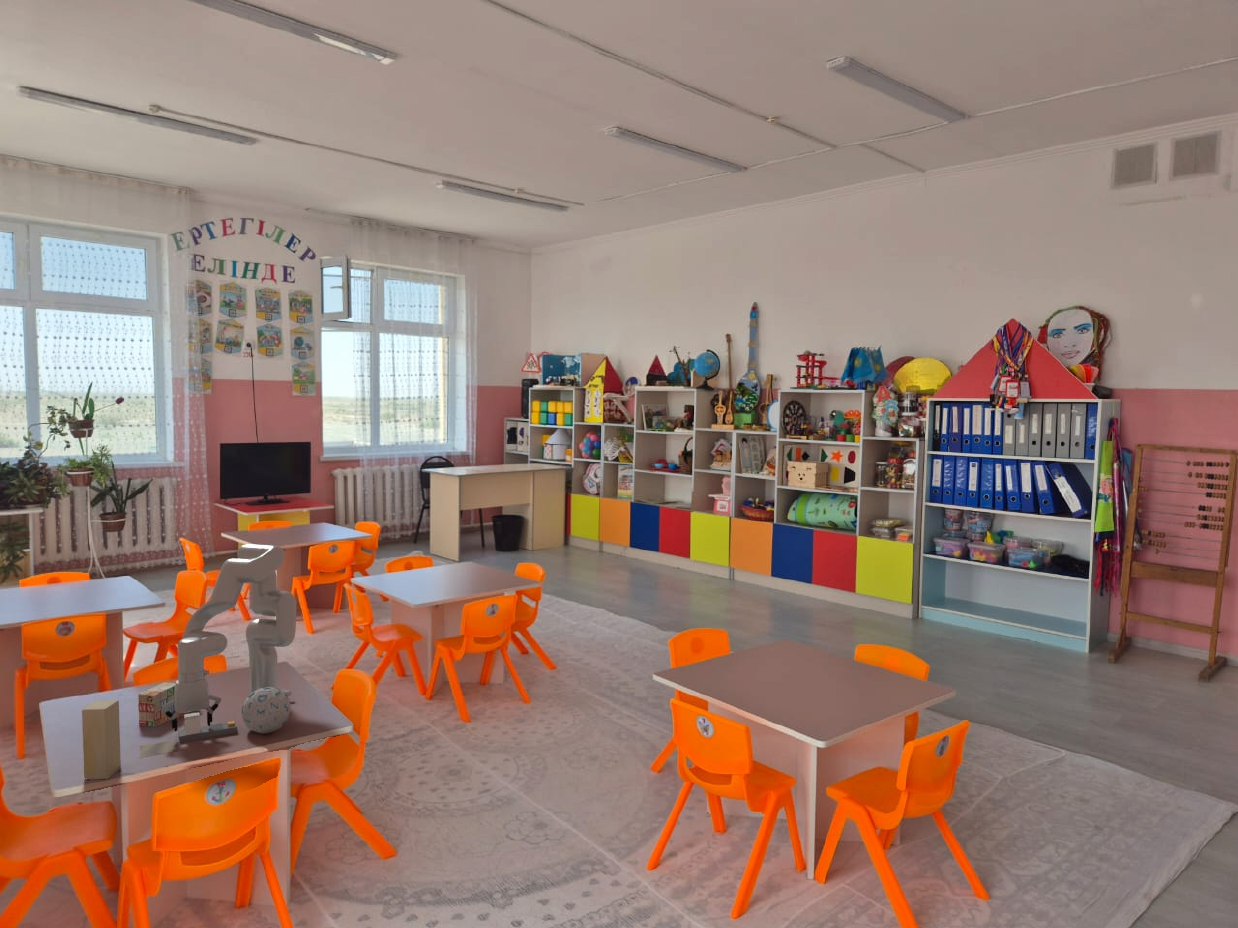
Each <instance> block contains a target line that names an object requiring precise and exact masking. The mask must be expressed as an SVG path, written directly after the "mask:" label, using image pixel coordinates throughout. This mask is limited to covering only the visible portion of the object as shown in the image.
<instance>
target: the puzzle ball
mask: <svg viewBox="0 0 1238 928" xmlns="http://www.w3.org/2000/svg"><path fill="white" fill-rule="evenodd" d="M290 713H291V701H290V699H289V696H287V695H286V694H285V693H283V692H282V691H281V689H279V688H278V689H277V688H272V687H265V688H261V689H258V690H256V691H255V692H253V693H252V694H251V695H250V694H249V696H248V697H246V699H245V700H244V702H243V705H242V707H241V717H242V721H243V723H244V724H245V726H246V728H248V729H249V730H250V731H252V732H255V733H259V734H262V735H266V734H270V733H275V732H276V731H278V730H279V729H281V728H282V727H283V726H284V725H285V724H286V722H287V721H288V719H289V717H290Z"/></svg>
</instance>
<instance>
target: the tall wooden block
mask: <svg viewBox="0 0 1238 928" xmlns="http://www.w3.org/2000/svg"><path fill="white" fill-rule="evenodd" d="M81 720H82V721H81V723H82V749H83V776H84V777H83V779H84V778H85V779H84V780H87V779H90V780H108V779H109V778H111V777H112V776H113V775H114V774H115V773H117V772H118V771H119V770H120V769H121V767H122V763H121V761H122V759H121V733H120V731H121V730H120V728H121V727H120V702H119V700H118V699H115V700H112V699H111V700H109V699H108V700H95V701H94V702H91V704H89V705H87V706H86V707H85V708H83V709H82V710H81ZM111 775H112V776H111ZM86 778H87V779H86Z"/></svg>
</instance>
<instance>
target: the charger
mask: <svg viewBox="0 0 1238 928" xmlns="http://www.w3.org/2000/svg"><path fill="white" fill-rule="evenodd" d="M183 720H184V721H183V723H184V725H183V726H184V727H183V729H184V730H185V735H191V734H197V733H201V727H202V726H201V716H200V712H199V711H198V712H191V713H187V714H185V715H183Z"/></svg>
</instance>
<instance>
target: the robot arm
mask: <svg viewBox="0 0 1238 928" xmlns="http://www.w3.org/2000/svg"><path fill="white" fill-rule="evenodd" d="M236 553H237V557H236V558H235V557H234V558H228V559H226V560H225V561H224V562H223V563H222V566H221V568H220V571H219V574H218V575H217V579H216V581H215V583H214V584H215V585H214V587H213V590H212V592H211V595H210V597H209V599H208V600H207V601H206V602H205V603H203V604H202V605H201V606H200V607H199V608H198V609H197V610H196V611H195V612H194V613H193V614H192V615H191V616H190V618H189V620H188V622H187V624H186V627H185V630H184V632H183V635H182V639H180V640H179V641H178V643H177V668H178V669H177V675H178V677H177V678H178V679H177V680H176V681H175V682H174V683H175V691H174V699H173V700H172V701H170V702H168V703H167V704H165V705H163V706H162V710H163V711H164V713H165V714H166V715H167V716H168V717H170V718H171V719H172V720H171V728H172V729H174V732H178V719H177V716H178V714H179V713H183V712H189V713H191V712H197V711H202V710H205V711H206V723H207V726H210V725H211V723H213V713H214V711H216V710H217V708H218V707H219V705H220V703H221V702H222V698H221V697H220V696H218V695H215V694H214V695H213V694H210V691H209V690H210V689H209V682H208V679H207V675H210V670H209V669H207V670H206V669H205V658H208V657H214V656H218V655H220V654H222V653H223V652H224V651H225V650H226V648H227V646H228V639H227V637H226V636H225V635H224V634H223V633H220V632H214V631H205V630H204V628H205V626H207V623H208V622H209V621H210V620H212V619H213V618H214V617H215V616H218V615H219V614H221V613H224V612H226V611H228V610H231V609H234V608H235V607H236V606H237V603H238V600H239V598H240V595H241V591H242V588H243V586H244V584H251V595H250V596H251V599H250V600H251V603H250V605H251V606H250V607H251V611H252V612H253V614H255V615H257V616H265V617H275V619H273V618H256V619H253V620H251V621H250V622H249V623H247V626H246V629H245V639H246V644H247V647H248V657H249V661H248V663H249V696H250V695H251V694H252V693H253V692H255V691H256V690H258V689H261V688H265V687H272V688H277V689H279V687H278V686H279V684H278V683H279V681H278V679H279V676H278V672H279V670H278V661H279V660H278V653H277V649H276V647H277V648H278V647H279V648H284V647H285V648H287V647H289V646H290V645H291V644H292V643H293V642H294V640H295V637H296V631H297V630H296V628H297V627H296V626H297V601H296V597H295V595H294V593H292V592H290V591H288V590H280V589H278V585H277V584H278V582H277V581H278V580H277V579H278V577H277V572H276V571H278V570H279V569H280V568H281V567H282V566H283V563H284V562H285V559H286V553H285V550H284V549H283V548H282V547H281V546H280V545H274V544H259V543H246V544H242V545H241V546H239V548H238V549H237V552H236ZM280 690H281V689H280ZM281 691H282V692H283V693H285V694H286V695H287V697H290V696H292V690H291V689H290V690H287V688H286V689H283V690H281ZM210 700H212V701H214V703H213V704H212V705H210ZM172 705H174V708H175V710H174V711H173V713H172V712H170V711H169V710H168V708H169V707H170V706H172ZM190 711H191V712H190Z"/></svg>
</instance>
